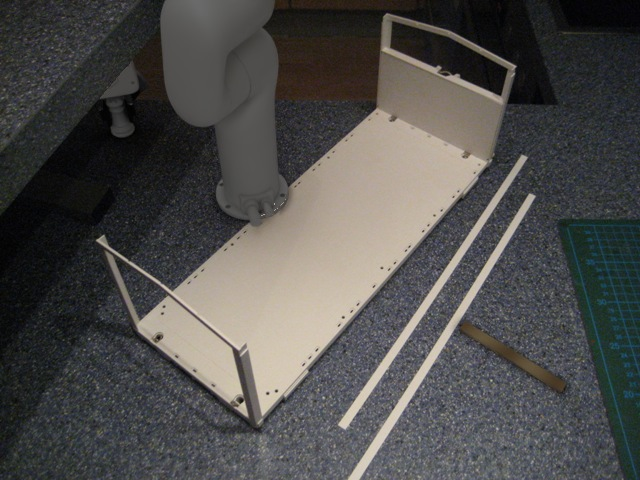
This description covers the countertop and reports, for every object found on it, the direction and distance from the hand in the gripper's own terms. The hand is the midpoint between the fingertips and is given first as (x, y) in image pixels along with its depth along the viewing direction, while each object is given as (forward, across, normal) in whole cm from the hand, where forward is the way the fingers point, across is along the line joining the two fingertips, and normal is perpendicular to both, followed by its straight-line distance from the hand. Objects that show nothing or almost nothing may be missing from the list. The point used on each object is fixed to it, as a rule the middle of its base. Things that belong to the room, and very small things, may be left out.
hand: (120, 119), depth 118 cm
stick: (+3, +48, -66) cm, 82 cm away
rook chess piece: (+3, 0, 0) cm, 3 cm away
